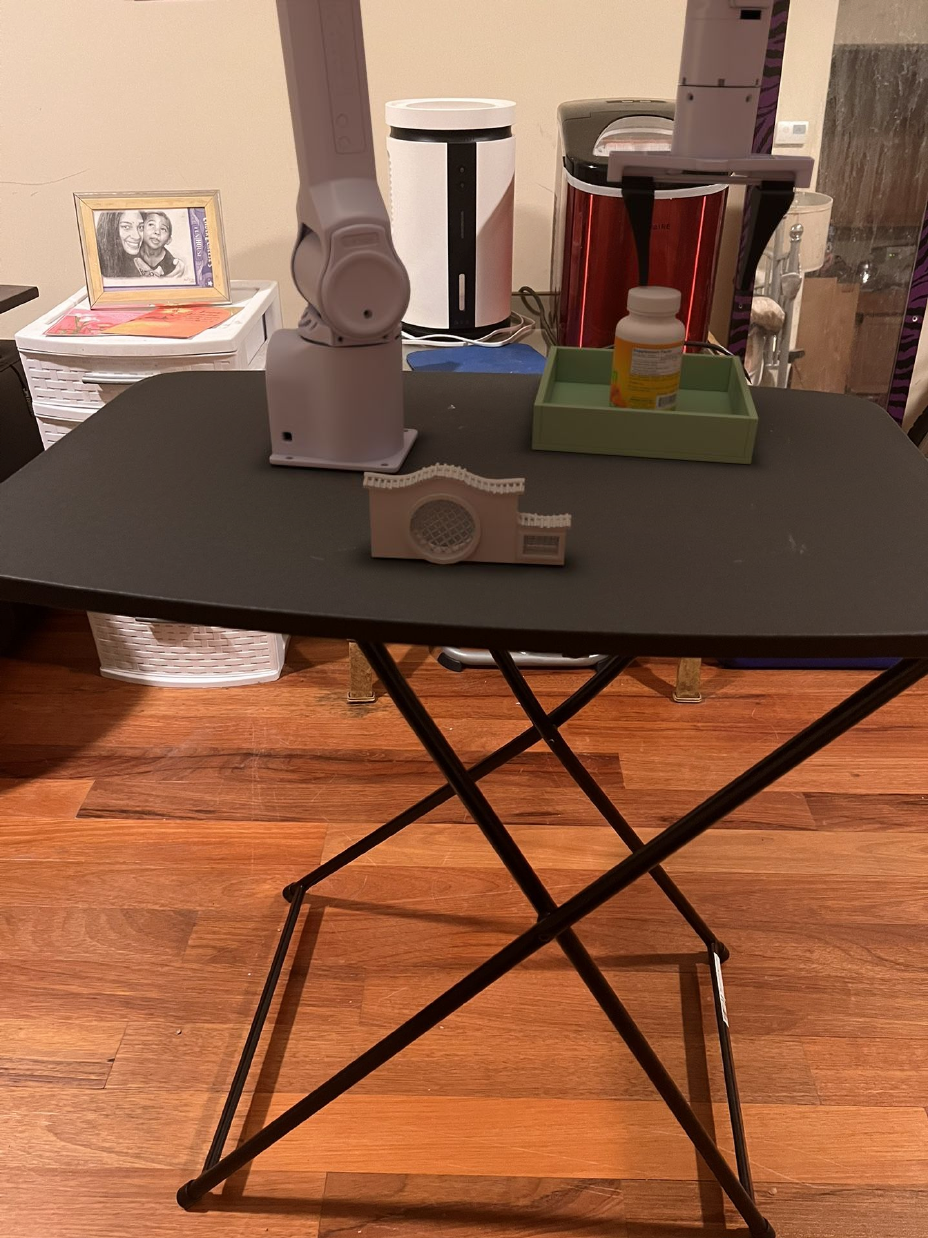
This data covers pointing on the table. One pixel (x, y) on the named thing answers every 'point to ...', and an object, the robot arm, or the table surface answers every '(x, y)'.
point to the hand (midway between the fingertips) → (692, 285)
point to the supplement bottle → (648, 351)
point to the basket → (645, 410)
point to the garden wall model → (480, 497)
